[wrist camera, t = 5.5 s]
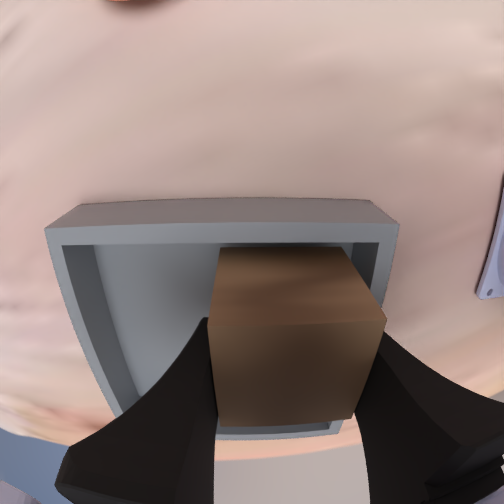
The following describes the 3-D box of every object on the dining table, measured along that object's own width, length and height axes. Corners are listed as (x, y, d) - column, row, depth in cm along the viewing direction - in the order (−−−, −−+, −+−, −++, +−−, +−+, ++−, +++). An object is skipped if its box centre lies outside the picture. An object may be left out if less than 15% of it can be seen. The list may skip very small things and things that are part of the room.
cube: (341, 246, 11) (387, 318, 7) (326, 338, 13) (351, 418, 9) (220, 247, 11) (207, 325, 7) (225, 341, 13) (220, 426, 9)
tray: (369, 200, 12) (399, 224, 10) (329, 397, 18) (338, 433, 15) (78, 204, 12) (44, 228, 10) (133, 395, 18) (123, 430, 15)
